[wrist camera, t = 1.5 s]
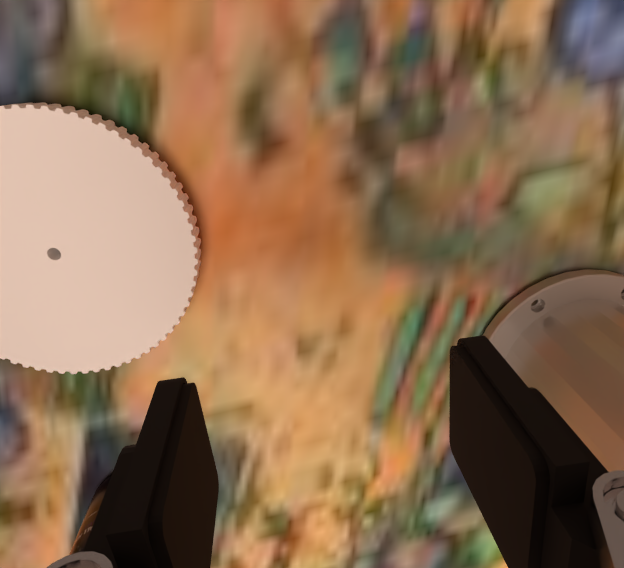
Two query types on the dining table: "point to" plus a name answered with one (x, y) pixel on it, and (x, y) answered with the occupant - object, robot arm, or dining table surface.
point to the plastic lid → (88, 241)
